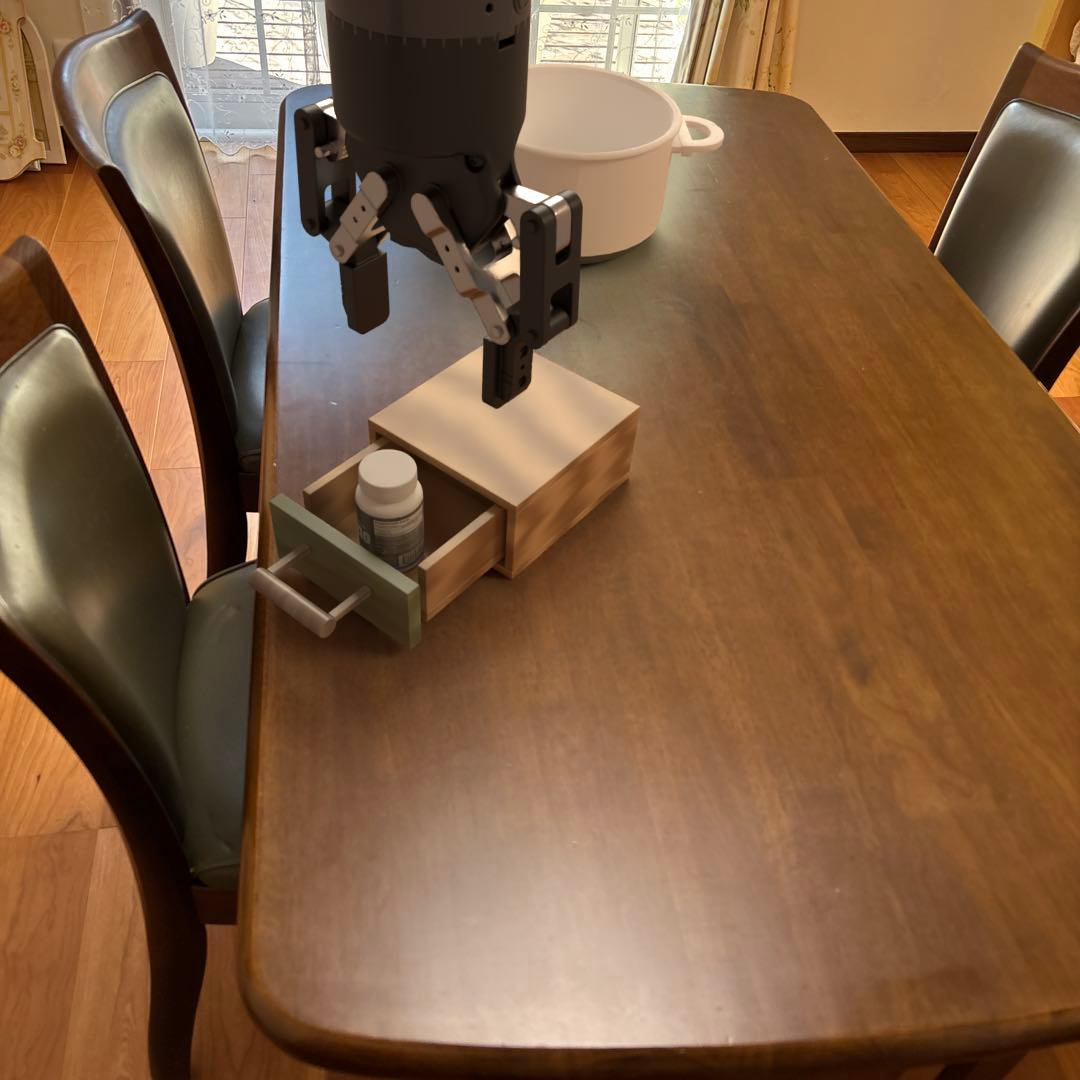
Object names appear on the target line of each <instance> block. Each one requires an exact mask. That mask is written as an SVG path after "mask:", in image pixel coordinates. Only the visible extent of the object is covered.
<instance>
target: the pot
mask: <svg viewBox="0 0 1080 1080" xmlns="http://www.w3.org/2000/svg"><path fill="white" fill-rule="evenodd" d="M689 128H691V129H695V130H698V131H701V132H703V133H705V134H706V135H707V137H705V138H703V139H692V136H691V133H690V131H689ZM724 139H725V133H724V131H723V129H722V128H721V127H720V126H718V125H717V123H716V122H713V121H711V120H709V119H706V118H703V117H699V116H694V115H688V114H687V115H686V114H682V111H681V110H680V108H679V106H678V104H677V102H676V101H675V100H673V98H671V97H670V96H669V95H668V94H667V93H666V92H664V91H663V90H661V89H660V88H658V87H656V86H655V85H654V84H653V85H652V84H651V83H648V82H646V81H645V80H642V79H639V78H637V77H634V76H632V75H628V74H626V73H623V72H620V71H615V70H612V69H607V68H603V67H596V66H592V65H591V66H590V65H583V64H573V63H572V64H571V63H534V64H528V81H527V101H526V116H525V120H524V123H523V126H522V129H521V131H520V134H519V137H518V140H517V143H516V147H515V152H514V158H515V164H516V168H517V172H518V175H519V178H520V180H521V184H522V187H525V188H528V189H531V190H534V191H536V192H539V193H542V194H545V195H548V196H554V195H556V194H558V193H560V192H562V191H564V190H572V191H574V192H575V193H576V194H577V195H578V196H579V197H580V199H581V201H582V205H583V217H582V240H581V262H580V265H589V264H594V263H595V264H596V263H602V262H606V261H609V260H613V259H617V258H618V257H621V256H624V255H625V254H627V253H630V252H631V251H634V250H636V249H637V248H638V247H639V246H641V245H642V244H644V243H645V242H646V241H647V240H648V238H649V237H651V236H652V234H653V233H654V232H655V231H656V230H657V227H658V226H659V223H660V220H661V217H662V214H663V210H664V206H665V199H666V193H667V187H668V180H669V174H670V167H671V162H672V161H671V160H672V155H673V154H679V156H680V157H683V158H684V157H686V158H687V157H688V158H690V157H692V155H693V154H695V153H697V154H698V153H709V152H712V151H714V150H717V149H719V148H720V147H721V146H722V145H723V142H724Z"/></svg>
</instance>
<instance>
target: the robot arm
mask: <svg viewBox="0 0 1080 1080" xmlns="http://www.w3.org/2000/svg"><path fill="white" fill-rule="evenodd" d="M532 2H533V1H532V0H324V10H325V22H326V23H325V25H326V35H327V47H328V59H329V60H328V61H329V70H330V85H331V86H330V87H331V96H329V97H326V98H323V99H321V100H317V101H315V102H313V103H310V104H307V105H305V106H302V107H299V108H297V109H295V111H294V113H293V127H294V142H295V155H296V169H297V170H296V171H297V183H298V184H297V187H298V199H299V213H300V224H301V227H302V228H303V230H304V231H305V232H306V233H307V234H308V235H309V236H310V237H314V238H316V237H318V236H320V235H321V236H322V237H323V238H324V239H325V240H326V241H327V242H328V248H329V252H330V254H331V256H332V257H333V259H334V260H335V261H336V262H338V268H339V280H340V286H341V287H340V291H341V292H340V293H341V303H342V307H343V310H344V312H345V315H346V321H347V326H348V328H349V329H350V330H352V331H353V332H356V333H357V334H359V335H363V336H364V335H365V334H368V333H369V332H371V331H373V330H375V329H376V328H378V327H380V326H381V325H383V324H385V323H386V322H387V321H388V319H389V317H390V314H391V309H390V289H389V268H388V267H389V265H388V252H387V251H385V250H383V249H381V248H379V246H381V245H383V244H384V242H386V240H387V239H388V238H389V240H390V241H391V242H393V243H395V244H397V245H399V246H401V247H403V248H404V247H405V248H409V249H416V250H417V251H419V252H420V253H421V254H422V255H423V256H425V257H426V258H427V259H428V260H430V261H432V262H434V263H436V264H438V265H440V266H442V267H444V268H445V270H446V272H447V274H448V276H449V278H450V280H451V282H452V284H453V286H454V288H455V291H456V292H457V293H458V295H459V296H460V297H462V298H466V299H469V300H470V301H471V303H472V304H473V306H474V308H475V311H476V313H477V314H478V317H479V319H480V321H481V323H482V325H483V327H484V329H485V331H486V333H487V334H486V335H485V336H484V337H483V338H482V345H483V367H482V401H483V402H484V403H486V404H487V405H489V406H491V407H493V408H495V409H499V408H500V407H502V406H503V405H505V404H506V403H508V402H509V401H511V400H512V399H514V398H515V397H517V396H518V395H519V394H521V393H522V392H524V391H525V390H526V389H527V388H528V387H529V385H530V383H531V377H532V372H531V371H532V362H533V352H534V350H536V351H537V350H540V349H541V348H542V347H544V346H545V345H547V344H548V343H549V341H551V340H553V339H554V338H555V337H558V336H559V335H560V334H561V333H563V332H564V331H566V330H568V329H570V328H572V327H573V326H575V325H576V324H577V323H578V320H579V307H580V305H579V304H580V283H581V264H580V262H581V240H582V217H583V205H582V201H581V199H580V197H579V196H578V195H577V194H576V193H575V192H574V191H572V190H564V191H562V192H560V193H558V194H556V195H554V196H548V195H545V194H542V193H539V192H536V191H534V190H531V189H528V188H525V187H522V184H521V180H520V178H519V175H518V172H517V168H516V164H515V158H514V152H515V147H516V143H517V140H518V137H519V134H520V131H521V129H522V126H523V123H524V120H525V116H526V101H527V81H528V65H529V59H530V58H529V57H530V41H531V40H530V39H531V22H532V21H531V20H532V19H531V18H532ZM357 177H358V180H359V181H360V184H359V186H358V189H359V190H358V191H357ZM329 186H330V194H331V195H330V197H331V198H330V199H327V200H326V195H325V194H326V190H327V188H328V187H329ZM489 242H490V244H491V246H492V248H493V250H494V257H493V260H492V261H490V262H489V263H488V264H486V265H484V266H483V267H480V266H478V265H477V264H476V262H475V261H474V258H473V257H472V256H473V255H474V254H476V253H479V252H480V251H481V250H483V249H484V248H485V247H486V246H487V244H488V243H489ZM499 282H500V283H501V285H502V287H503V289H504V291H505V293H506V295H507V298H508V300H509V302H510V304H511V305H510V306H508V307H505V304H504V302H503V300H502V298H501V296H500V294H499V291H498V289H497V287H498V283H499Z"/></svg>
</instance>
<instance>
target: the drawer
mask: <svg viewBox="0 0 1080 1080" xmlns="http://www.w3.org/2000/svg"><path fill="white" fill-rule="evenodd" d="M379 450H397V451H401V452H404V453H406V454H407V455H409V456H410V457H411V458H412V459H413V460H414V461H415V463H416V466H417V479H418V481H419V483H420V485H421V487H422V490H423V516H424V554H423V557H422V559H421V561H420V562H419V563H418V564H417V565H416V566H415V567H413V568H412V569H410V570H408V571H406V572H402V573H401V572H399V571H398V570H396V569H395V568H393V567H392V566H390V565H389V564H387V563H386V562H384V561H383V560H381V559H380V558H378V557H377V556H375V555H374V554H372V553H371V552H369V551H368V550H366V549H365V548H363V547H362V546H360V543H359V533H358V522H357V512H356V502H355V493H356V488H357V486H358V484H359V482H358V468H359V465H360V463H361V461H362V460H363V458H364V457H366V456H367V455H368V454H370V453H372V452H375V451H379ZM302 498H303V504H304V507H303V506H301V505H300V504H299V503H297V502H296V501H294V500H293V499H291V498H290V497H288V496H287V495H285V494H284V493H282V492H280V493H279V494H277V495H276V496H274V497H273V498H271V499H270V500H268V505H269V511H270V517H271V522H272V528H273V535H274V540H275V546H276V552H277V557H278V559H279V560H277V561H276V562H275V563H274V564H272V565H271V566H269V567H267V568H266V569H265V568H264V567H257V568H255V569H254V570H253V571H252V572H251V573H250V574H249V576H248V578H247V583H248V586H249V587H251V588H252V589H253V590H255V591H256V592H258V593H259V594H260V595H261V596H263V597H264V598H266V599H267V600H269V601H270V602H271V603H273V604H274V605H276V606H277V607H278V608H279V609H281V610H282V611H284V612H285V613H286V614H287V615H289V616H290V617H292V618H293V619H295V620H296V621H297V622H298V623H300V624H301V625H303V626H304V627H305V628H307V629H308V630H310V632H312V633H313V634H315V635H316V636H318V637H319V638H321V639H325V638H328V637H329V636H330V635H331V634H332V633H333V632H334V630H335V629H336V626H337V622H338V621H340V619H342V618H343V617H344V616H345V615H346V616H347V614H348V613H350V612H351V611H353V612H355V613H356V614H358V615H359V616H361V617H362V618H363V619H365V620H366V621H367V622H369V623H370V624H372V625H373V626H374V627H376V628H378V629H379V630H380V631H382V632H383V633H385V634H386V635H388V636H389V637H390V638H392V639H393V640H394V641H396V642H397V643H399V644H400V645H402V646H403V647H405V648H406V649H408V650H409V651H411V650H412V649H413V648H415V647H416V646H417V645H418V644H419V643H421V642H422V620H424V621H425V622H429V621H430V620H431V619H432V618H433V617H435V616H436V615H437V614H438V613H440V611H442V610H443V609H445V607H447V606H448V605H449V604H450V603H451V602H452V601H453V600H455V599H456V598H457V597H458V596H460V595H461V594H462V593H463V592H465V590H466V589H468V588H469V587H470V586H472V584H473V583H475V582H476V581H477V580H479V579H480V578H481V577H482V576H483V575H485V574H486V573H487V572H488V571H489V570H491V569H492V566H494V565H495V564H496V563H497V562H498V561H500V560H501V559H502V558H503V557H504V556H505V551H506V532H507V513H508V510H507V509H505V508H503V507H502V506H500V505H498V504H497V503H495V502H493V501H492V500H490V499H488V498H487V497H485V496H483V495H482V494H480V493H478V492H477V491H475V490H473V489H472V488H470V487H468V486H467V485H465V484H463V483H462V482H460V481H458V480H456V479H455V478H453V477H451V476H450V475H448V474H446V473H445V472H443V471H441V470H440V469H438V468H436V467H435V466H433V465H431V464H430V463H428V462H426V461H425V460H423V459H421V458H420V457H418V456H416V455H415V454H413V453H411V452H410V451H408V450H406V449H405V448H403V447H401V446H400V445H398V444H396V443H395V442H393V441H391V440H390V439H388V438H386V437H385V436H383V437H381V438H380V439H378V440H377V441H375V442H374V443H372V444H371V445H370V444H369V445H367V446H366V447H365V448H363V449H362V450H360V451H358V452H356V454H354V455H352V456H350V457H349V458H348V459H347V460H345V461H343V462H342V463H340V464H339V465H338V466H336V467H334V468H333V469H332V470H330V471H328V472H327V473H325V474H324V475H322V476H321V477H319V478H318V479H316V480H315V481H313V482H312V483H310V484H309V485H307V486H306V487H304V488H303V489H302ZM289 568H292V569H293V570H295V571H297V572H298V573H299V574H301V575H302V576H304V577H305V578H306V579H308V580H310V581H311V582H312V583H314V584H315V585H317V586H318V587H319V588H321V589H323V591H324V592H326V593H328V594H329V595H331V596H332V597H333V598H335V599H336V600H338V601H339V602H340V603H339V604H338V605H337V606H335V607H334V608H333V609H331V611H329V612H328V613H327V612H326V611H324V610H323V609H321V608H320V607H319V606H318V605H316V604H315V603H313V602H312V601H311V600H309V599H307V597H305V596H303V595H302V594H301V593H299V592H298V591H296V590H295V589H293V588H292V587H291V586H289V585H288V584H287V583H285V582H284V581H282V580H281V579H279V577H278V576H279V575H280V574H282V573H283V572H285V571H286V570H287V569H289Z"/></svg>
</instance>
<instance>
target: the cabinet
mask: <svg viewBox="0 0 1080 1080" xmlns="http://www.w3.org/2000/svg"><path fill="white" fill-rule="evenodd" d="M482 367H483V344H482V345H480V346H479V347H477V348H476V349H474V350H472V351H471V352H469V353H468V354H466V355H464V356H463V357H462V358H460V359H459V360H457V361H455V362H454V363H452V364H450V365H449V366H448V367H446V368H444V369H443V370H441V371H440V372H438V373H437V374H435V375H434V376H432V377H431V378H429V379H428V380H426V381H424V382H422V384H420V385H418V386H416V387H415V388H414V389H412V390H410V391H409V392H407V393H406V394H405V395H403V396H401V397H400V398H398V399H397V400H395V401H394V402H391V403H390V404H388V405H387V406H385V407H384V408H383V409H381V410H380V411H378V412H376V413H375V414H373V415H372V416H370V417H368V419H367V427H368V439H369V440H368V441H369V445H371V444H372V443H374V442H375V441H377V440H378V439H380V438H381V437H383V436H385V437H386V438H388V439H390V440H391V441H393V442H395V443H396V444H398V445H400V446H401V447H403V448H405V449H406V450H408V451H410V452H411V453H413V454H415V455H416V456H418V457H420V458H421V459H423V460H425V461H426V462H428V463H430V464H431V465H433V466H435V467H436V468H438V469H440V470H441V471H443V472H445V473H446V474H448V475H450V476H451V477H453V478H455V479H456V480H458V481H460V482H462V483H463V484H465V485H467V486H468V487H470V488H472V489H473V490H475V491H477V492H478V493H480V494H482V495H483V496H485V497H487V498H488V499H490V500H492V501H493V502H495V503H497V504H498V505H500V506H502V507H503V508H505V509H507V510H508V513H507V532H506V551H505V556H504V557H503V558H502V559H501V560H500V561H498V562H497V563H496V564H495V565H494V566H492V567H491V569H493V570H494V571H497V572H498V573H500V574H502V575H503V576H504V577H507V578H508V579H510V580H511V581H513V580H514V579H515V578H516V577H517V576H519V574H521V573H522V572H523V571H525V569H526V568H527V567H529V566H530V565H531V564H532V563H533V562H534V561H536V560H537V559H538V558H539V557H540V556H541V555H542V554H543V553H545V552H546V551H547V550H548V549H550V547H551V546H553V544H555V543H556V542H558V540H559V539H560V538H562V537H563V536H564V535H565V534H566V533H567V532H568V531H570V530H571V529H572V528H574V526H575V525H577V524H578V523H579V522H580V521H582V519H584V518H585V517H586V516H587V515H588V514H590V513H591V511H593V510H594V509H595V508H596V507H597V506H598V505H600V504H601V503H602V502H603V501H604V500H605V499H606V498H608V497H609V496H610V495H611V494H612V493H614V492H615V491H616V490H617V489H618V488H619V487H621V486H622V484H624V483H625V482H626V481H627V480H628V479H629V478H630V473H631V467H632V466H631V465H632V460H633V459H632V458H633V453H634V448H635V447H634V446H635V442H636V434H637V429H638V423H639V416H640V411H641V405H638V404H636V403H635V402H633V401H630V400H628V399H627V398H625V397H623V396H620V395H619V394H617V393H615V392H614V391H611V390H609V389H607V388H605V387H603V386H601V385H599V384H597V383H595V382H593V381H591V380H589V379H588V378H586V377H583V376H581V375H579V374H578V373H576V372H574V371H572V370H570V369H568V368H566V367H564V366H562V365H560V364H559V363H556V362H554V361H552V360H551V359H548V358H546V357H545V356H542V355H540V354H538V353H536V352H534V351H533V362H532V371H531V372H532V377H531V383H530V385H529V387H528V388H527V389H526V390H525V391H524V392H522V393H521V394H519V395H518V396H517V397H515V398H514V399H512V400H511V401H509V402H508V403H506V404H505V405H503V406H502V407H500V408H499V409H495V408H493V407H491V406H489V405H487V404H486V403H484V402H483V401H482Z"/></svg>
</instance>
